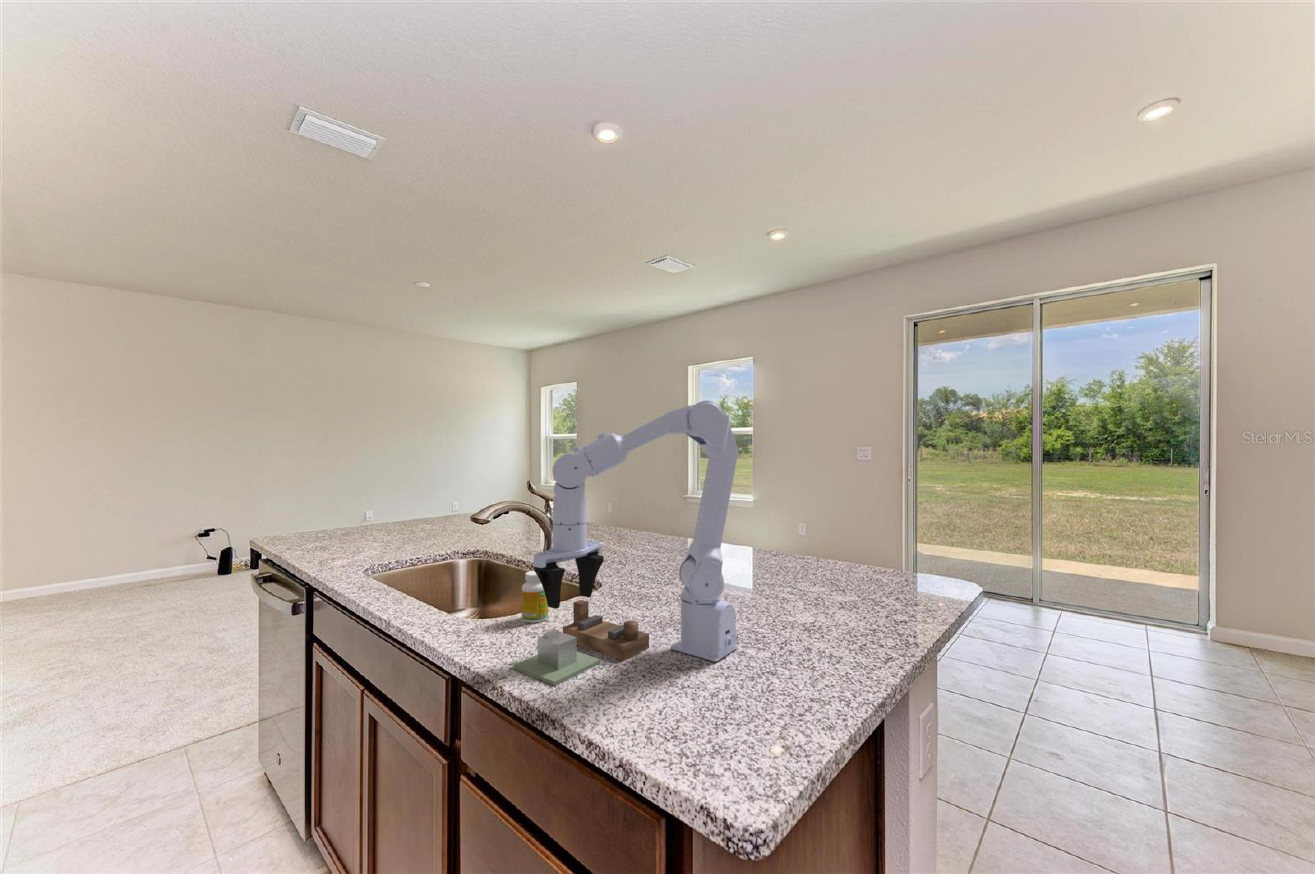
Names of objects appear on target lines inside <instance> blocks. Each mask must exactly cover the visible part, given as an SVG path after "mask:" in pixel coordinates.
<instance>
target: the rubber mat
mask: <svg viewBox="0 0 1315 874" xmlns="http://www.w3.org/2000/svg"><path fill="white" fill-rule="evenodd" d="M599 664H601V659H600V658H597V657H594V656H591V655H588V654H585V653H583V652H580V651H577V662H575V663H573V664H571V665H569V666H566V667H564V668H562V669H560V670H556V669H554V668H551V667H549V666H546V665H544V664H541V663H538V654H536V655H534V656H531V657H528V658H526V659H523V660H520V661H519V662H516V663H514V664H512V669H514V670H516V671H518V672H521V673H523V674H525V675H528V676H530V677H532V678H535V679H538V680H539V679H540V681H541V682H545V683H546V684H549V685H551V686H554V687H555V686H557V685H559V684H561V683H564V682H565V681H567V680H569V679H571V678H573V677H575V676H577V674H578V675H579V674H581V673H583V672H586V671H587V670H590V669H591V668H593V667H596V666H598V665H599Z"/></svg>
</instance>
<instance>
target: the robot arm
mask: <svg viewBox="0 0 1315 874" xmlns="http://www.w3.org/2000/svg"><path fill="white" fill-rule="evenodd" d="M668 434H669V435H670V434H671V435H672V434H673V435H682V434H685V435H686V436H688V437H689V438H691V439H692V440H693V441H694V442H696V443H698V445H699V446H700V447H701V449H702V450H703V451H704V452H705V453H706V455H707V457H708V460H707V465H706V471H705V477H704V481H703V487H702V491H701V496H700V497H701V498H700V500H699V501H700V503H699V509H698V512H697V513H698V514H697V518H696V524H695V527H694V528H695V529H694V534H693V540H692V542H691V543H690V545H689V547H688V549H687V554H686V557H684V559H683V561H682V562H681V564H680V566H679V570H678V576H679V580H680V582H681V583H682V584H683V585H684V587H683V590H682V591H681V593H680V640H679V641H677V642H676V643H674V644H672V645H670V649H671V650H673V651H676V652H681V653H683V654H687V655H691V656H694V657H697V658H702V659H705V660H707V661H710V662H711V661H712V662H716V663H717V662H718V661H720V660H722V659H723V658H725V657H726V656H727V655H729V654H730V653H732V652H733V651H735V650H736V649H738V648H739V645H738V644H737V641H736V639H737V637H736V636H737V635H736V634H737V632H736V631H737V630H736V629H737V628H736V625H737V624H736V622H737V620H736V619H737V618H736V610H735V607H734V605H732V603H731V604H730V603H728V602H726V601H724V600H723V599H722V593H723V590H724V588H725V587H724V586H725V581H724V576H723V574H722V571H723V570H722V569H723V563H724V562H723V556H722V551H721V545H722V541H723V536H724V531H725V530H724V529H725V525H726V522H727V521H726V520H727V514H728V509H729V504H730V498H731V494H732V488H733V484H734V478H735V472H736V466H737V463H738V462H737V461H738V457H739V456H738V455H739V447H738V445H737V442H736V439H735V437H734V434H733V431H732V428H731V424H730V416H729V415H728V414H727V413H726V411H724V410H723V408H722V407H721V406H720V405H719V404H718V403H716V402H714V401H712V400H701V401H698V402H697V403H696V404H691V405H688V406H683V407H681V408H678V409H674V410H670V411H668V412H665V413H663V414H662V415H660V416H658V417H656V418H654V419H651V420H650V421H648V422H646V423H643V424H642V425H640V426H638V427H636V428H634V429H633V430H630V431H629V432H627V433H625V434H622V435H618V434H615V433H614V432H610V433H607V434H605V433H604V432H602V433H599V434H598V435H597V439H595V440H592V441H591V442H589V443H587V444H585V445H583V446H581V447H579V445H577V446H575V447H573V448H572V450H573V452H574V453H571V452H568V453H564V454H563V455H561V456H560V457H559V458H557V459H556V460H555V462H554V463H553V466H552V476H553V479H554V481H555V482H554V486H553V493H554V495H553V498H552V499H553V501H552V502H553V505H552V507H553V508H552V511H553V512H552V513H553V516H552V519H553V522H552V524H553V525H552V526H553V532H552V533H553V536H552V539H553V541H552V542H553V544H552V546H551V547H550V548H549V549H547V550H545V551H542V552H539V553H537V554H533V571H535V573H536V574H537V576H538V578H539V580H540V582H541V584H542V586H543V589H544V592H545V596H546V600H547V604H548V608H553V609H556V610H557V609H559V608H560V604H561V589H562V584H563V583H562V582H563V577H564V574H565V572H566V568H563V567H559V565H558V563H563V562H566V561H571V560H575V564H576V567H577V568H576V569H577V573H578V586H579V587H578V589H579V594H580V597H584V598H591V597H592V594H593V589H594V586H595V582H596V579H597V575H598V573H599V571H600V568H601V567H602V565H603V563H604V562H605V561H604V560H605V558H604V557H605V556H604V555H601V554H603V550H604V549H603V545H604V544H603V542H602V541H596V540H595V541H590V542H588V539H587V537H588V535H587V532H588V531H587V527H588V526H587V520H588V519H587V516H588V515H587V506H588V505H587V502H588V501H587V495H586V493H585V491H586V490H585V489H586V488H585V487H586V486H585V485H586V484H585V481H586V479H587V477H591V478H595V477H596V476H599V475H601V474H602V473H605V472H606V471H608V470H611V469H614V468H616V467H617V466H619V465H621V464H623V463H625V462H626V461H627V458H628V456H629V455H628V454H629V452H631V451H634V450H635V449H637V448H639V447H642V446H644V445H646V444H648V443H651V442H653V441H655V440H657V439H659V438H662V437H664V436H665V435H668Z"/></svg>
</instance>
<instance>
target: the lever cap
mask: <svg viewBox="0 0 1315 874" xmlns="http://www.w3.org/2000/svg"><path fill="white" fill-rule="evenodd" d="M577 648H578V645H577V637H574V636H571V635H568V634H565V633H563V631H560V630H559V629H555V628H553V629H551V630H547V631H545V632H543V634H542V635H541V636H539V637H537V655H538V663H541V664H544V665H546V666H549V667H551V668H554V669H556V670H560V669H562V668H564V667H566V666H569V665H571V664H573V663H575V662H577V652H578V651H577V650H578V649H577Z"/></svg>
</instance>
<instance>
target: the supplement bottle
mask: <svg viewBox="0 0 1315 874" xmlns="http://www.w3.org/2000/svg"><path fill="white" fill-rule="evenodd" d="M524 578H525V579H524V580H525V581H526V582H525V583H523V584H522V586H521V620H522V622H524V623H526V622H530V623H529V624H537V623H536V622H539V623H543V622H545V621H547V620H548V618H549V607H548V604H547V600H546V596H545V592H544V589H543V586H542V584H541V582H540V580H539V578H538V576H537V574H536V573H535V571H534V570H530V571H527V572H525V577H524ZM544 620H545V621H544ZM542 621H543V622H542Z"/></svg>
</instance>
